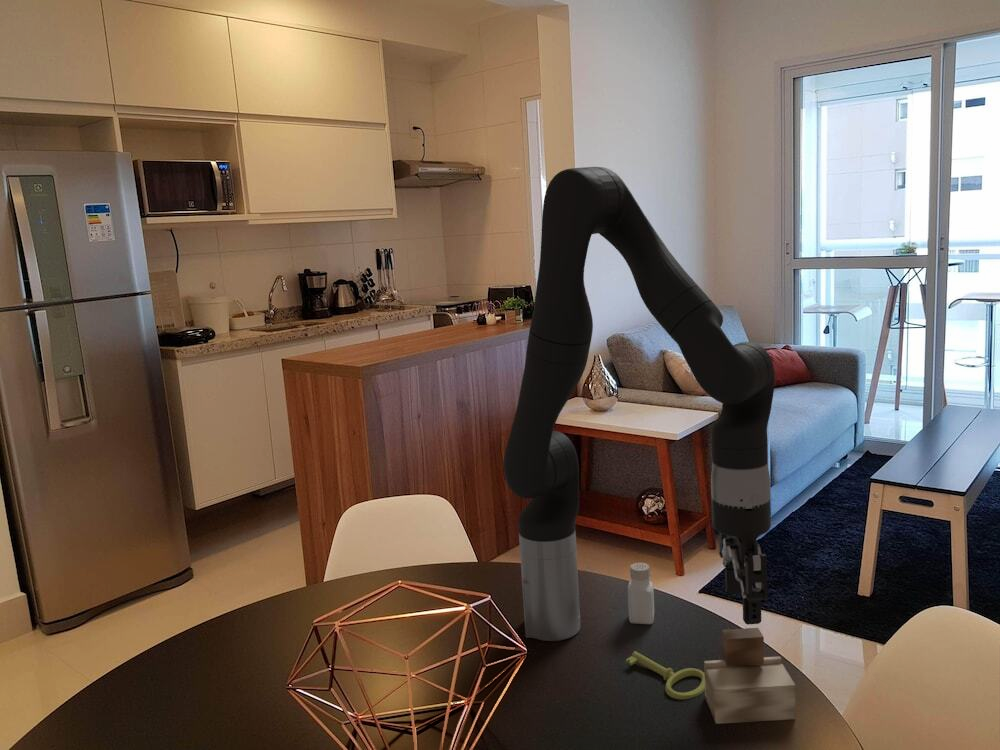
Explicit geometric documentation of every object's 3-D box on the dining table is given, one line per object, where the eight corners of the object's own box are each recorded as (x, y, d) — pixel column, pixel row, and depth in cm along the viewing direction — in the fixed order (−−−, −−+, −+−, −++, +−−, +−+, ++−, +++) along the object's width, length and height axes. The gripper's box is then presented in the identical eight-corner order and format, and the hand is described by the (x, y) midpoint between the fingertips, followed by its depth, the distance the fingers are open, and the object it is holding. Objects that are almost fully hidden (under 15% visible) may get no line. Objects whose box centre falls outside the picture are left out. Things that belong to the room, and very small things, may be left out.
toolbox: (716, 723, 108) (715, 689, 107) (706, 701, 113) (705, 668, 112) (795, 719, 108) (795, 685, 107) (782, 696, 113) (782, 663, 112)
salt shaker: (628, 624, 135) (626, 571, 133) (630, 612, 139) (628, 560, 137) (653, 625, 134) (651, 572, 132) (654, 614, 138) (652, 561, 136)
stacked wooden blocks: (713, 714, 110) (711, 652, 108) (703, 690, 115) (702, 631, 113) (791, 709, 110) (791, 647, 108) (777, 686, 115) (777, 626, 113)
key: (632, 661, 125) (631, 649, 125) (712, 680, 119) (711, 666, 119) (614, 686, 119) (613, 673, 119) (697, 707, 113) (697, 693, 112)
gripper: (699, 479, 115) (702, 586, 118) (726, 515, 101) (729, 635, 104) (752, 475, 115) (754, 582, 118) (787, 511, 101) (788, 632, 104)
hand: (742, 607), depth 111 cm, fingers open, 8 cm apart
